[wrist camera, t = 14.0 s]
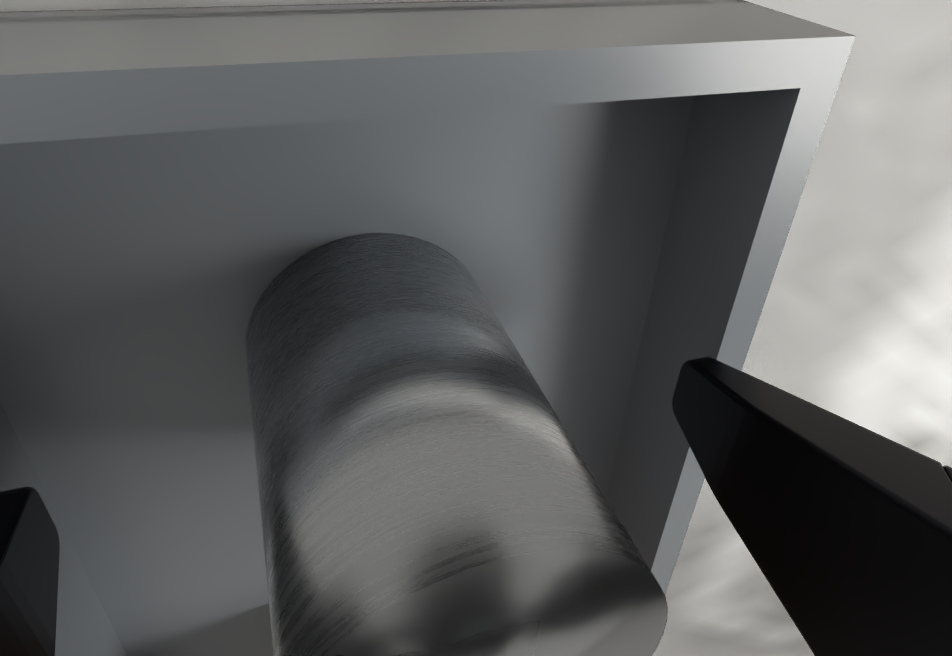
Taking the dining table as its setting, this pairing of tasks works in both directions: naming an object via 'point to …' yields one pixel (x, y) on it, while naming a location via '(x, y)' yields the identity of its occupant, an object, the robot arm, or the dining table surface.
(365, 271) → the steel peg
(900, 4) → the dining table surface
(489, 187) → the tray
